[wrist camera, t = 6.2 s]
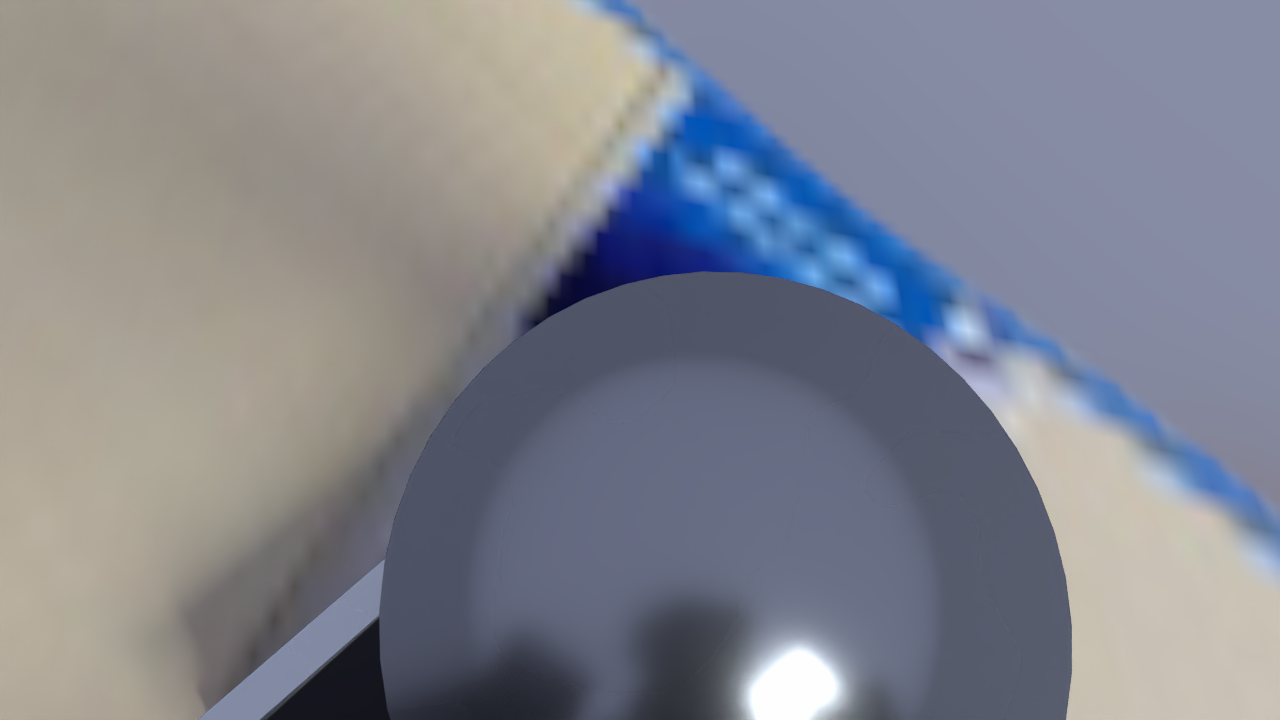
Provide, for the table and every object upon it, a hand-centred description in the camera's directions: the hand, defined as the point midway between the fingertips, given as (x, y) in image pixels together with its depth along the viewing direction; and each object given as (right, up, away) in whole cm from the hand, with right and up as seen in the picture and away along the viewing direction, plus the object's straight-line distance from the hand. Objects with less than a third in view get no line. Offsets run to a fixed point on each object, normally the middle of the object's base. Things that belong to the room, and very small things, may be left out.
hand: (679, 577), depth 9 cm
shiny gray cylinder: (0, -2, +7) cm, 7 cm away
